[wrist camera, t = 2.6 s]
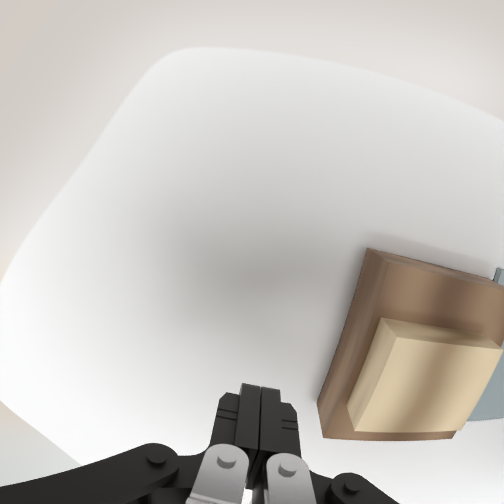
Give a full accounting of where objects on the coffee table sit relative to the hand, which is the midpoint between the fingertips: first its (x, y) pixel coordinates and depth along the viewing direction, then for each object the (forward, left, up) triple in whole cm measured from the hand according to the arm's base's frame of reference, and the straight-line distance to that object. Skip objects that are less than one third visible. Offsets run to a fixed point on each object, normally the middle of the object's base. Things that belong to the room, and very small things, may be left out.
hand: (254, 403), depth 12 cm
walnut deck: (-11, 0, -9) cm, 14 cm away
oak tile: (-10, 0, -5) cm, 11 cm away
